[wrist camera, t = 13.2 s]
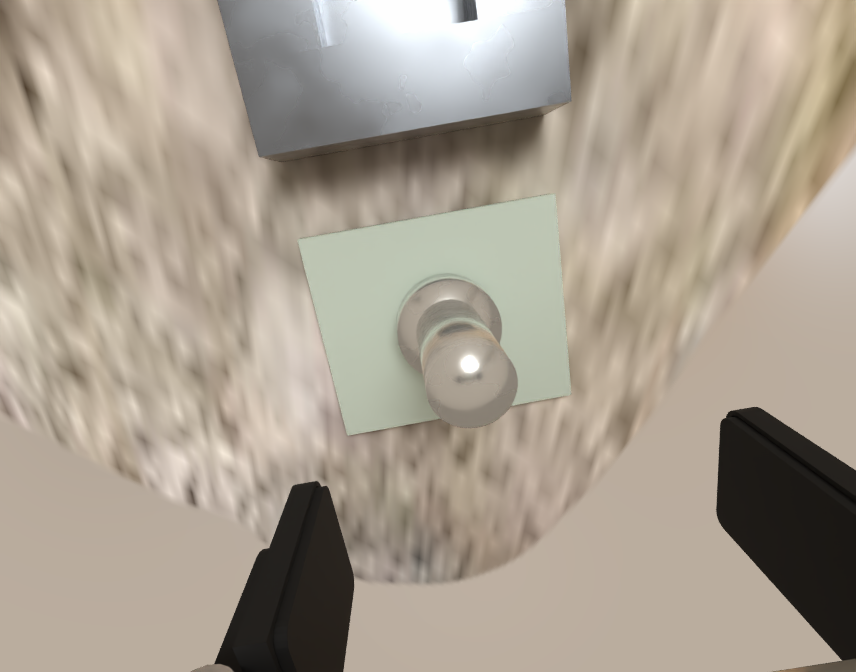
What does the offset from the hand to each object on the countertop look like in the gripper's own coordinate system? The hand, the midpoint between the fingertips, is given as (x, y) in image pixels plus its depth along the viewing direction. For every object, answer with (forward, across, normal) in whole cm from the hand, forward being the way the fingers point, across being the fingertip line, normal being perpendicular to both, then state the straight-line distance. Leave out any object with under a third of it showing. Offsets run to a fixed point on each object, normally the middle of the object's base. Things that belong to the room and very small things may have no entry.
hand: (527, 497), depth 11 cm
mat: (+17, +1, +1) cm, 17 cm away
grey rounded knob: (+16, +1, +1) cm, 16 cm away
